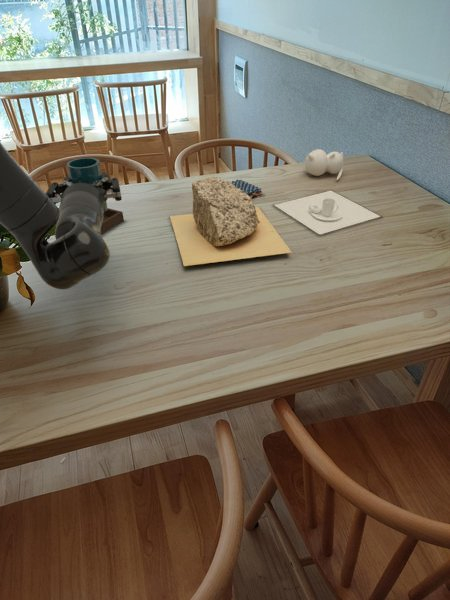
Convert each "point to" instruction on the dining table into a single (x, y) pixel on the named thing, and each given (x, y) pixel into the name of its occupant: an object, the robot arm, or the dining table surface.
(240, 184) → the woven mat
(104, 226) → the tray
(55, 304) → the dining table surface
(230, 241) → the rock
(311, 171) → the cat figurine
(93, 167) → the cup
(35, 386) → the dining table surface
